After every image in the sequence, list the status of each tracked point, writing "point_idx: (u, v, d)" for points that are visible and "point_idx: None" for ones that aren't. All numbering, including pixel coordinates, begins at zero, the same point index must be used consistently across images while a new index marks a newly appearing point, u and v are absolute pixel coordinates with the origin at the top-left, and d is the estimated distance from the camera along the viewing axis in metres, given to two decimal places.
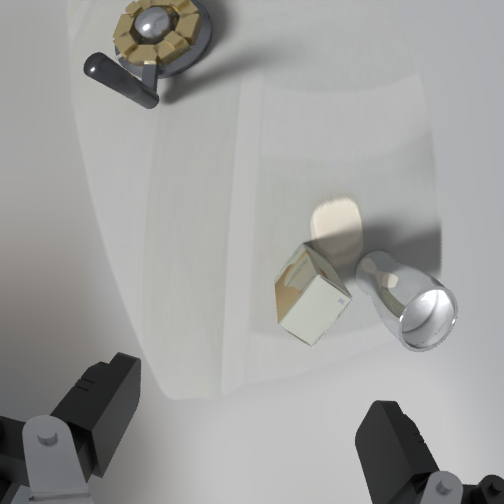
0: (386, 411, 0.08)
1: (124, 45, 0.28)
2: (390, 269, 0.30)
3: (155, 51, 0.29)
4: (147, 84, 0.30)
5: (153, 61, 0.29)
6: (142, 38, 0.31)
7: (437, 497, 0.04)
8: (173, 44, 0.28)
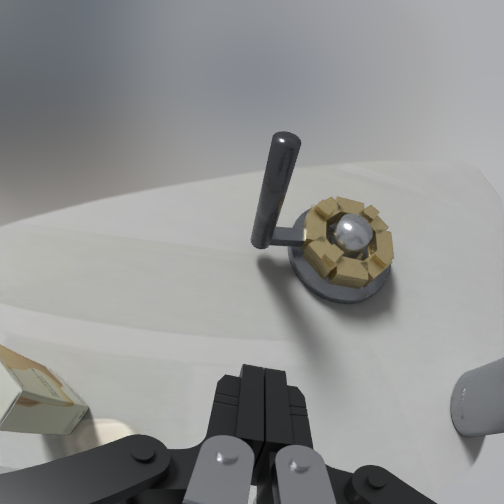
0: (267, 378, 0.09)
1: (325, 206, 0.34)
2: None
3: (317, 238, 0.32)
4: (278, 233, 0.33)
5: (305, 237, 0.33)
6: None
7: (281, 471, 0.05)
8: (326, 254, 0.31)
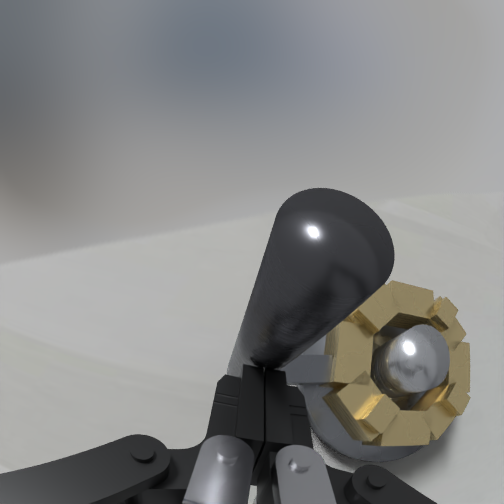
0: (267, 378, 0.09)
1: (374, 309, 0.17)
2: None
3: (355, 378, 0.15)
4: (280, 368, 0.16)
5: (332, 377, 0.15)
6: (381, 337, 0.19)
7: (282, 471, 0.05)
8: (368, 419, 0.13)
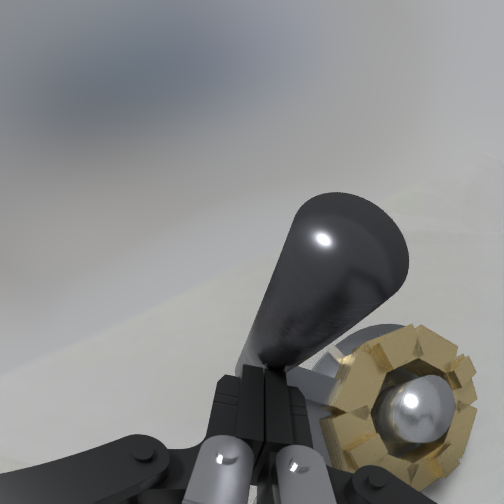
0: (267, 378, 0.09)
1: (395, 347, 0.15)
2: None
3: (355, 409, 0.14)
4: (286, 377, 0.15)
5: (333, 401, 0.15)
6: None
7: (282, 471, 0.05)
8: (354, 453, 0.12)
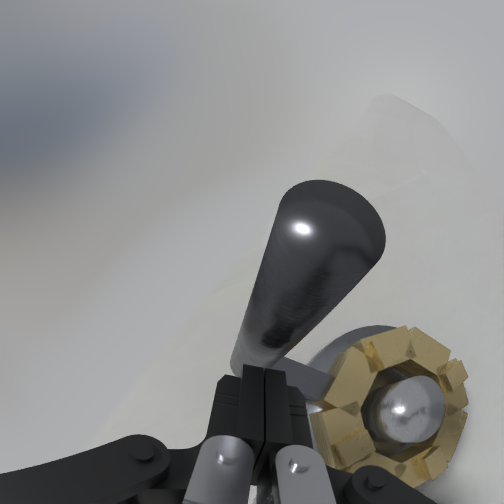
0: (267, 377, 0.09)
1: (387, 346, 0.16)
2: None
3: (345, 405, 0.15)
4: (279, 369, 0.16)
5: (324, 396, 0.15)
6: None
7: (282, 471, 0.05)
8: (341, 447, 0.13)
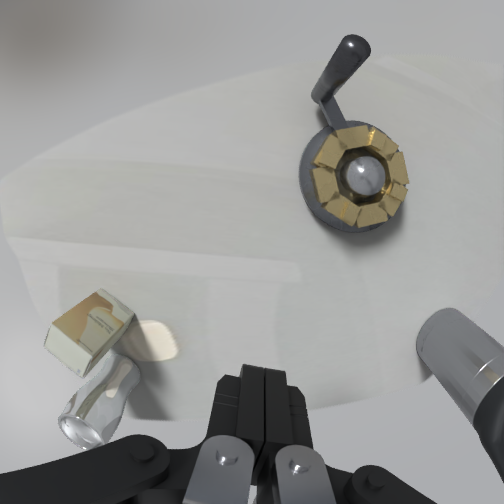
0: (267, 378, 0.09)
1: (380, 139, 0.29)
2: (117, 395, 0.33)
3: (341, 141, 0.30)
4: (330, 105, 0.29)
5: (337, 130, 0.30)
6: (352, 154, 0.32)
7: (282, 471, 0.05)
8: (324, 151, 0.29)
